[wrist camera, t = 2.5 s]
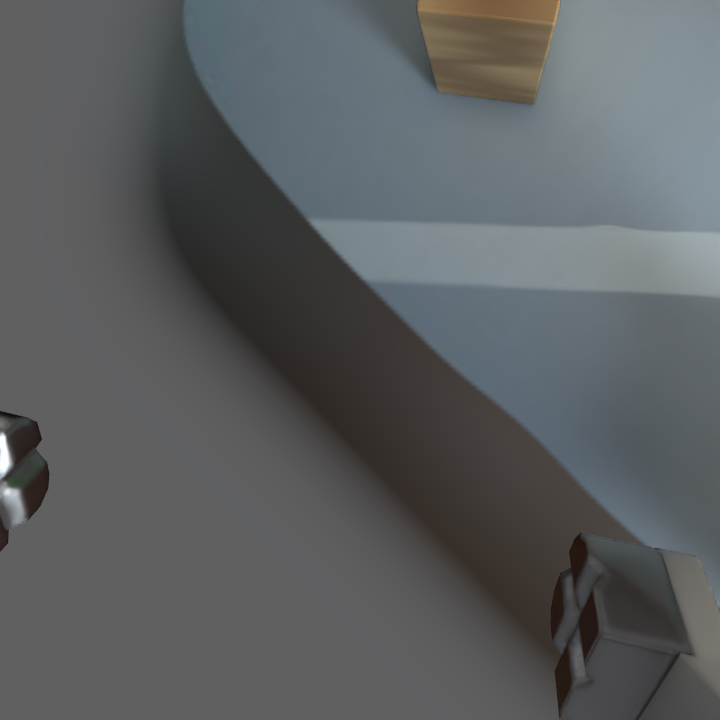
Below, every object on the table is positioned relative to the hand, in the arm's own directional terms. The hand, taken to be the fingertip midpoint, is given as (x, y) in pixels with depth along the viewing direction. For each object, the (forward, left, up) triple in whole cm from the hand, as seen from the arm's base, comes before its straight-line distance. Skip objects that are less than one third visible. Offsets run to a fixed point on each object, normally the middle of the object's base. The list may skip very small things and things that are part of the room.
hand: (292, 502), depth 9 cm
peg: (0, +13, -18) cm, 23 cm away
